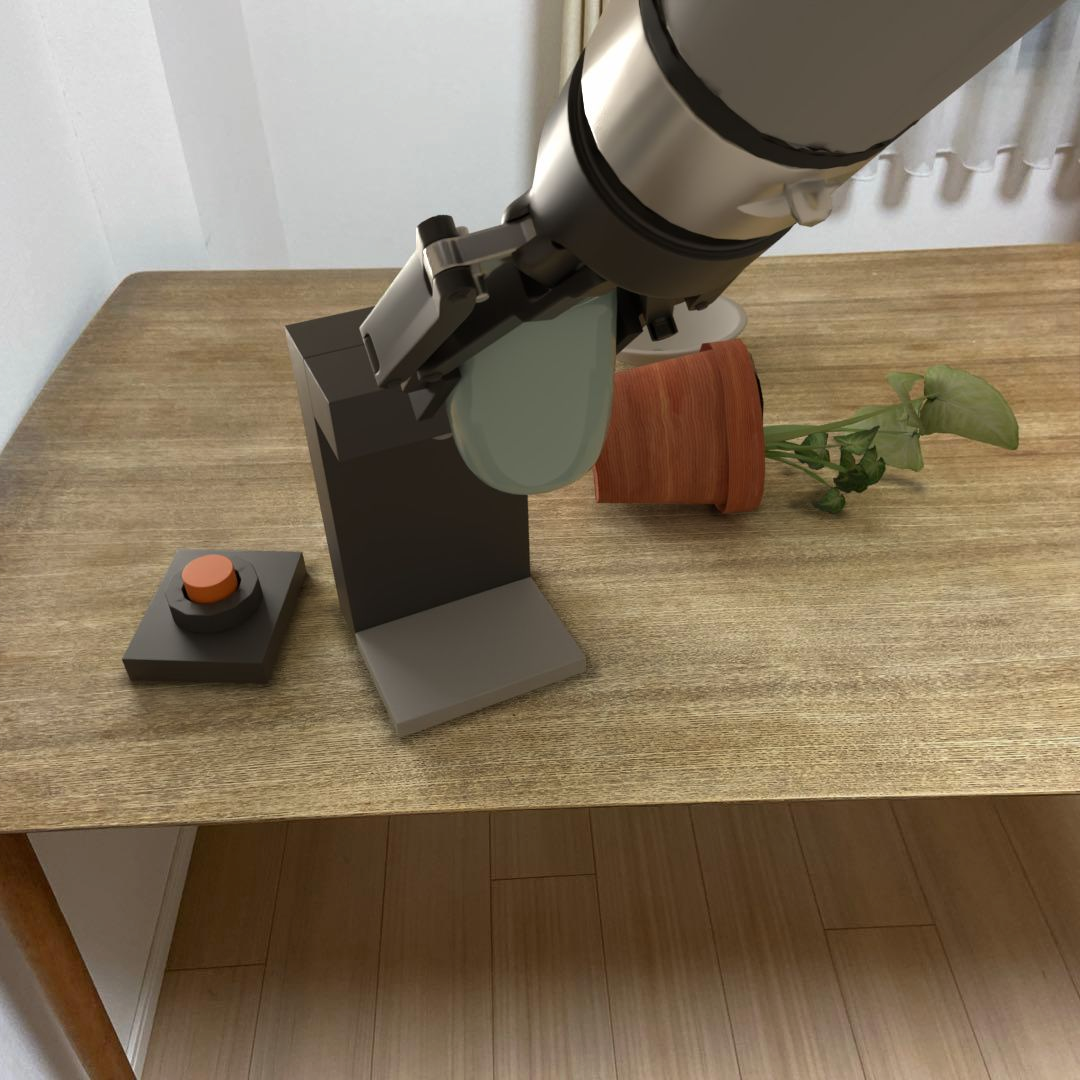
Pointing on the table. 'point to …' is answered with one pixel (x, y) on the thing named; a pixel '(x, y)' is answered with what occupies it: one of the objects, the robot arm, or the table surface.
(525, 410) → the cup
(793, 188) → the robot arm
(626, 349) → the dish
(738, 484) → the potted plant
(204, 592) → the button
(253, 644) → the control pad
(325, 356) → the coffee maker
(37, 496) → the table surface
